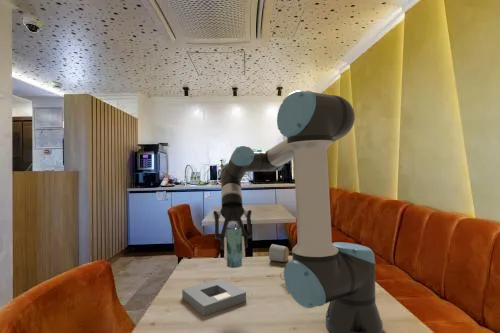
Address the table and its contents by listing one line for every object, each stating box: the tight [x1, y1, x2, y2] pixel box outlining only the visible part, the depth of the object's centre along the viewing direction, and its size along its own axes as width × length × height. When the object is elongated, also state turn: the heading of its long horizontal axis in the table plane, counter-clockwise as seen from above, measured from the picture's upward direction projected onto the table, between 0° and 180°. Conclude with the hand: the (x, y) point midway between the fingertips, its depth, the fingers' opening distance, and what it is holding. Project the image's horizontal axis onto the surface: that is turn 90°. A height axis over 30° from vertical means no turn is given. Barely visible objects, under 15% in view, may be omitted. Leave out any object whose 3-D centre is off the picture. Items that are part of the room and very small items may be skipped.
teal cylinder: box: [225, 226, 243, 269], centre depth 97 cm, size 5×5×12 cm
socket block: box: [181, 278, 247, 317], centre depth 102 cm, size 16×16×3 cm
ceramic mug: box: [268, 243, 290, 263], centre depth 143 cm, size 11×8×8 cm
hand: (234, 257), depth 93 cm, fingers closed on teal cylinder, 5 cm apart
